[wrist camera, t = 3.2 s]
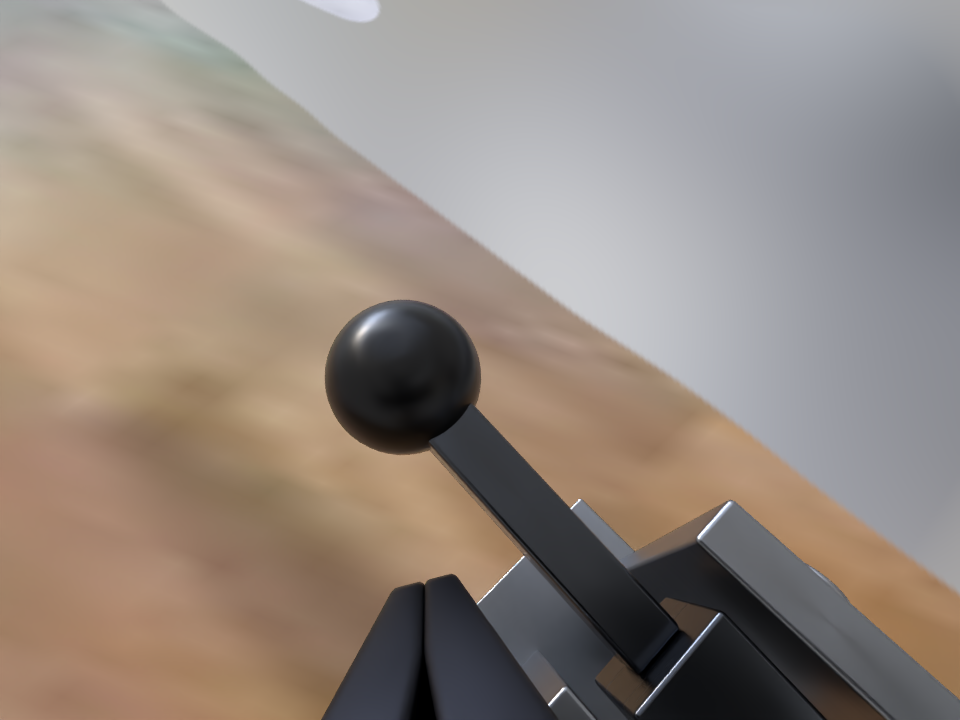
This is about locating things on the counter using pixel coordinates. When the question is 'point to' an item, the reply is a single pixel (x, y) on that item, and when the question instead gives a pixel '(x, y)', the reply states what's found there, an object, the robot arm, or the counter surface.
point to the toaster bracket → (744, 598)
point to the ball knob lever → (545, 523)
